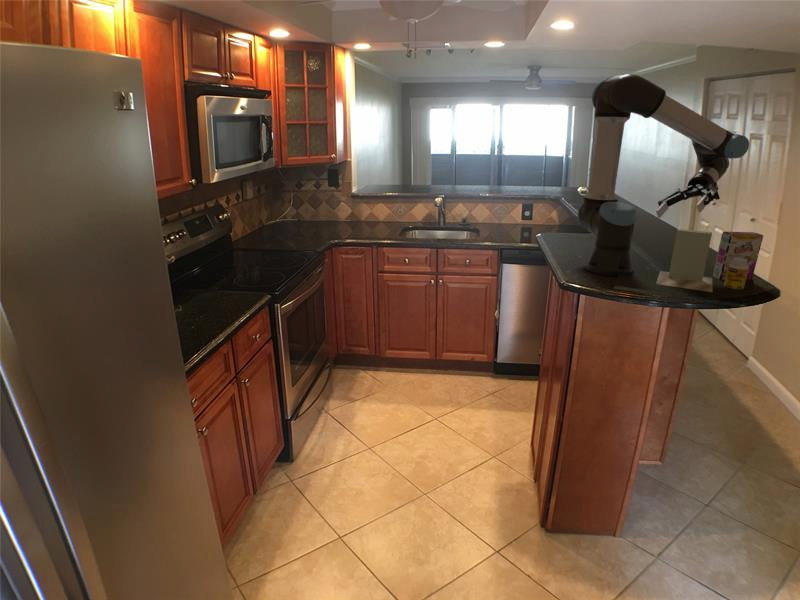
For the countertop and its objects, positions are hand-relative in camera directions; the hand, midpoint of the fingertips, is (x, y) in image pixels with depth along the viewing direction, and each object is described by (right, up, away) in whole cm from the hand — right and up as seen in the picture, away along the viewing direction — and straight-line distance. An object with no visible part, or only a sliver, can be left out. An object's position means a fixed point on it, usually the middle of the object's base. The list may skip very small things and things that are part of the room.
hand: (677, 211), depth 181 cm
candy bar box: (+19, -23, +1) cm, 30 cm away
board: (0, -24, -4) cm, 25 cm away
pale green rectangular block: (+2, -23, -1) cm, 23 cm away
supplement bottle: (+13, -27, -9) cm, 31 cm away
